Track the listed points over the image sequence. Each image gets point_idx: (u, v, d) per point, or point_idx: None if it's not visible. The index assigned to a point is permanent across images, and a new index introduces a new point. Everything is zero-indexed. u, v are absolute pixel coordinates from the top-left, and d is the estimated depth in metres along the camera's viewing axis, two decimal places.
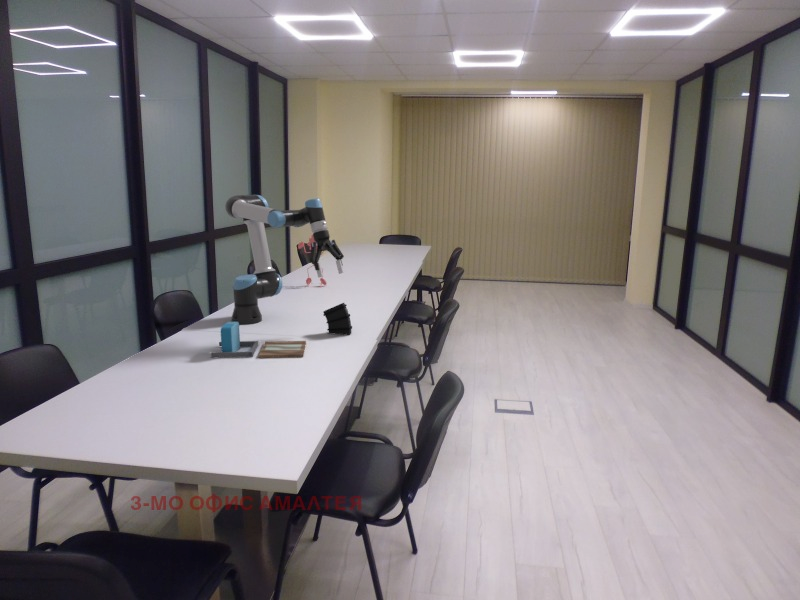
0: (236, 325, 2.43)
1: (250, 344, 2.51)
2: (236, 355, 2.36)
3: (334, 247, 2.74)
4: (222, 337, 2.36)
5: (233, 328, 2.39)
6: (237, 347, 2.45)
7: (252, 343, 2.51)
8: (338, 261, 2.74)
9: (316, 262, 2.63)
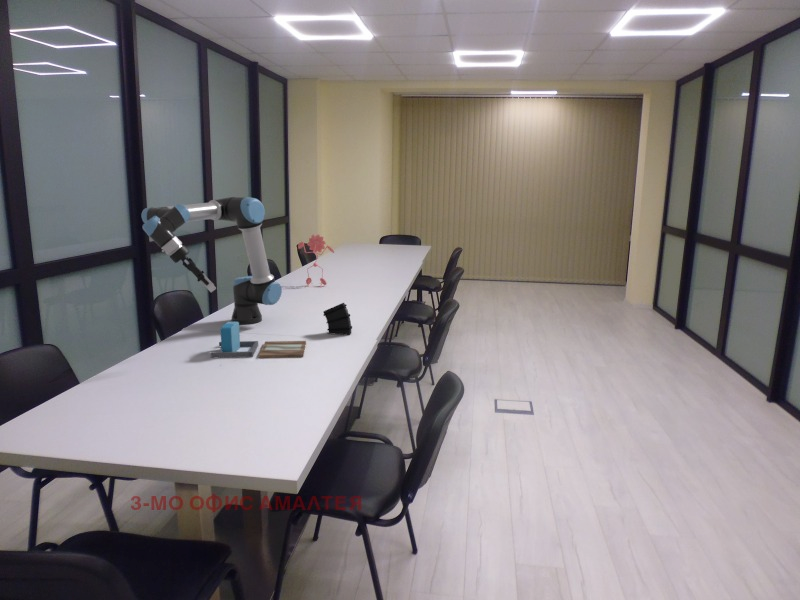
0: (236, 325, 2.43)
1: (250, 344, 2.51)
2: (236, 355, 2.36)
3: None
4: (222, 337, 2.36)
5: (233, 328, 2.39)
6: (237, 347, 2.45)
7: (252, 343, 2.51)
8: None
9: None
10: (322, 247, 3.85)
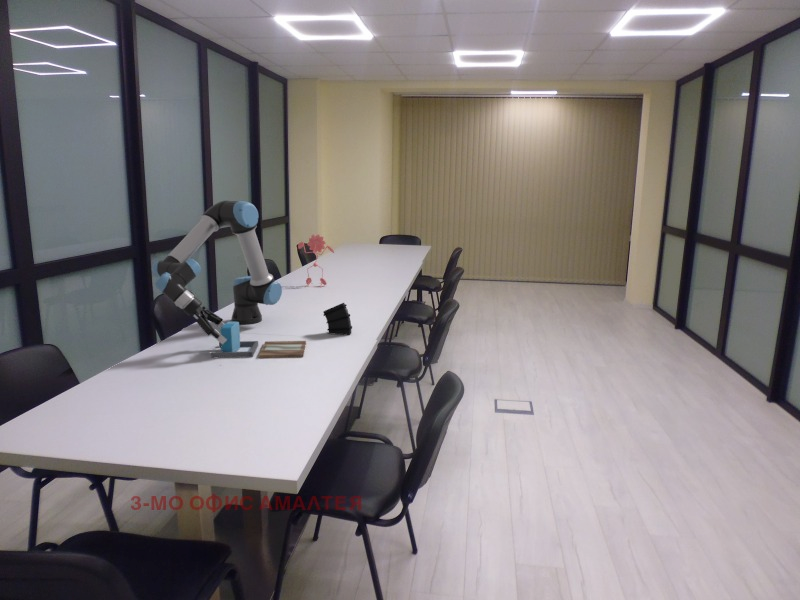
0: (236, 325, 2.43)
1: (250, 344, 2.51)
2: (236, 355, 2.36)
3: None
4: None
5: (233, 328, 2.39)
6: (237, 347, 2.45)
7: (252, 343, 2.51)
8: None
9: None
10: (322, 247, 3.85)
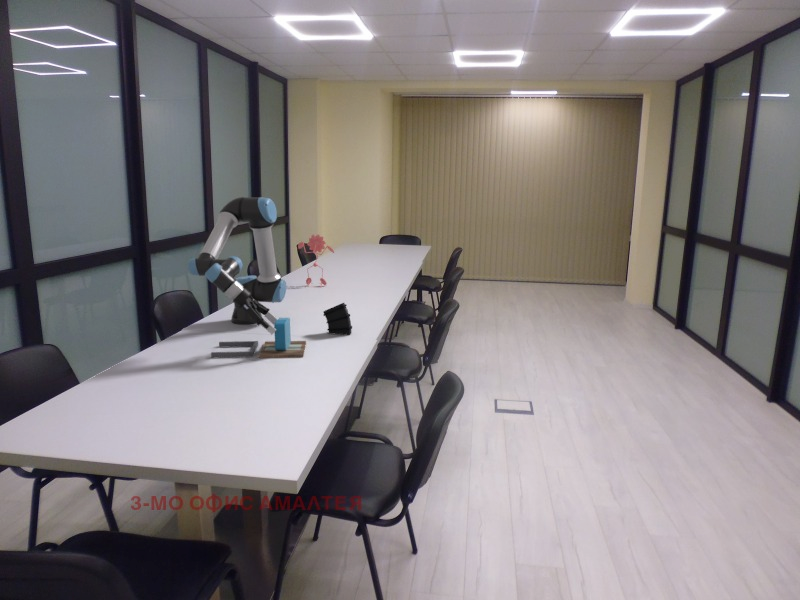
0: (288, 321, 2.45)
1: (250, 344, 2.51)
2: (236, 355, 2.36)
3: None
4: (275, 332, 2.38)
5: (286, 324, 2.40)
6: (289, 343, 2.47)
7: (252, 343, 2.51)
8: None
9: None
10: (322, 247, 3.85)
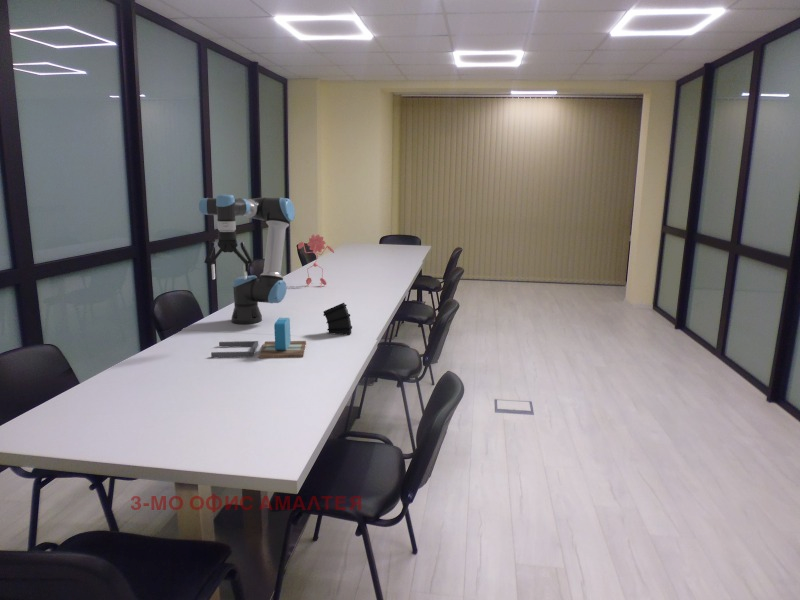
0: (288, 321, 2.45)
1: (250, 344, 2.51)
2: (236, 355, 2.36)
3: None
4: (275, 332, 2.38)
5: (286, 324, 2.41)
6: (288, 343, 2.47)
7: (252, 343, 2.51)
8: None
9: (209, 264, 2.49)
10: (322, 247, 3.85)
